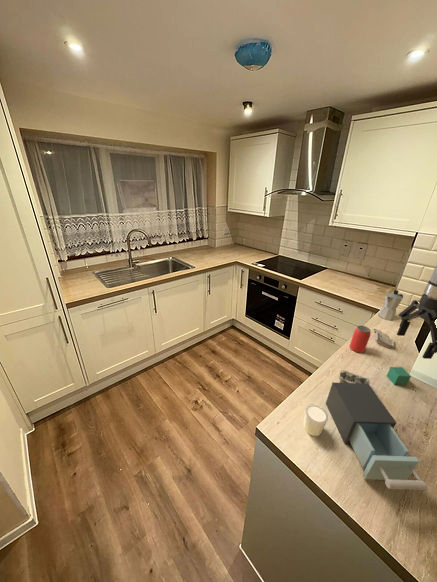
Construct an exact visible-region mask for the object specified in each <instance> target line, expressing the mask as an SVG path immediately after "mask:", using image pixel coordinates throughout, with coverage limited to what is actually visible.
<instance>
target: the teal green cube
mask: <svg viewBox="0 0 437 582" xmlns="http://www.w3.org/2000/svg"><path fill="white" fill-rule="evenodd" d="M386 377H387V378H388V379H389V380H390V382H391V383H392V384H393V386H407V385H408V383H409V381H410V379H411V378H412V376H411V375H410V373H409V372H408V371H407V370H406V369H405V368H404V367H402V366H390V367H389V369H388V372H387V373H386Z"/></svg>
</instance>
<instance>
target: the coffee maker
mask: <svg viewBox="0 0 437 582" xmlns="http://www.w3.org/2000/svg"><path fill="white" fill-rule="evenodd" d="M399 292H400V291H399V290H397V289H393V292H387V293H386V294H385V297H384V301H383V306H382V307H381V308H380V310H379V312H378V314H377V315H378V317H379V318H381V319H382V320H385V321H395V318H396V313H397V308H398V307H399V305H400V304H401V302H402V300H403V298H404V295H403V294H402V293H399Z"/></svg>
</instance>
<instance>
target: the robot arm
mask: <svg viewBox="0 0 437 582" xmlns="http://www.w3.org/2000/svg"><path fill="white" fill-rule="evenodd" d="M417 309H418V310H417ZM398 317H400V318H401V321H400V323H399V328H398V331H397V332H396V335H397V336H403V337H404V336H406V333H407V331H408V329H409V326H410V325H411V321H412V320H415V319H417V318H420V319H422V320H424V322H426V324H427V325H428V327H429V332H430V337H431V342H429V343H428V345H427V347H426V348H425V351H424V352H423V354H422V359H428V360H431V359H432V358H433V357H434V355H435V354H437V328H436V325H435V320H436V319H437V263H436V264H435V266H434V268H433V272H432V274H431V276H430V278H429V280H428V282H427V283H426V286H425V288H424V290H423V293H422V295H421V297H420V300H419V299H416V300H415V299H413V300H412V301H411V302H410V304H409V305H408V306H407V307H406V308H404V310H402V311H401V312H400V313H398Z"/></svg>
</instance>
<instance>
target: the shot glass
mask: <svg viewBox="0 0 437 582" xmlns="http://www.w3.org/2000/svg"><path fill="white" fill-rule="evenodd" d="M328 420H329V415H328V413H327V411H326V410H325V409H324V408H322V407H321V406H319V405H318V404H309V405H307V406H306V407H305V409H304V419H303V424H302V425H303V426H302V427H303V430H304V431H305V432H306V433H307V434H308V435H310V436H313V437H319V436H320V435H321V434H322V431H323V430H324V428H325V426H326V425H327V422H328Z"/></svg>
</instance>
